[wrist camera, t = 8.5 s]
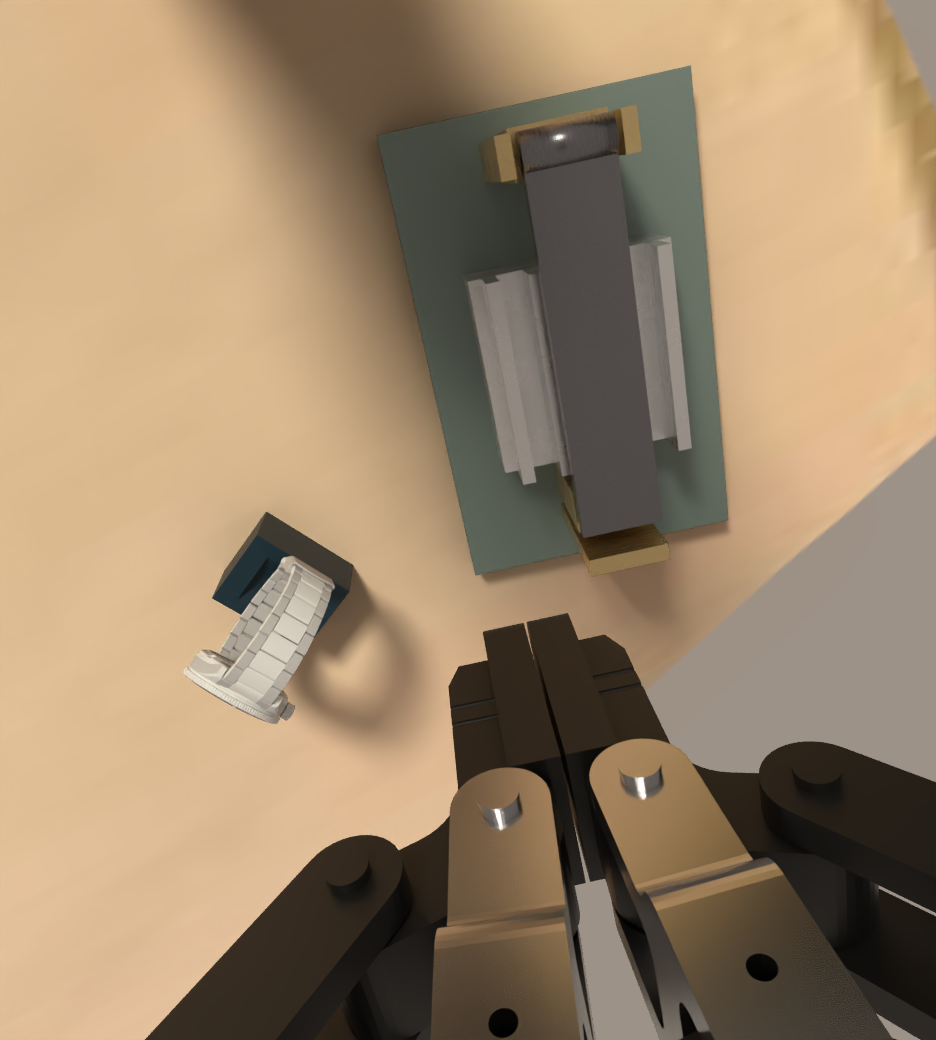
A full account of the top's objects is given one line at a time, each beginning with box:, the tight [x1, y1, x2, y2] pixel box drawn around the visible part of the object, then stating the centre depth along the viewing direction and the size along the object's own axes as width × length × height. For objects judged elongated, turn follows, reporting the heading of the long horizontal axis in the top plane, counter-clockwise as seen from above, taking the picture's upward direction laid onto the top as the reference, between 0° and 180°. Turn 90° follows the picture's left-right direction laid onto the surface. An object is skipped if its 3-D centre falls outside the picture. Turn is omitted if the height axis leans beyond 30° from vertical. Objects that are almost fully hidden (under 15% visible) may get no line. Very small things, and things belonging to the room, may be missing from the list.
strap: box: [515, 111, 663, 538], centre depth 33 cm, size 17×4×2 cm, turn 12°
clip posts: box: [478, 105, 670, 576], centre depth 36 cm, size 19×5×7 cm, turn 12°
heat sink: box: [463, 233, 692, 485], centre depth 37 cm, size 9×9×5 cm
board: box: [377, 66, 728, 575], centre depth 40 cm, size 22×14×2 cm, turn 12°
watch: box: [183, 512, 353, 724], centre depth 40 cm, size 6×8×11 cm
